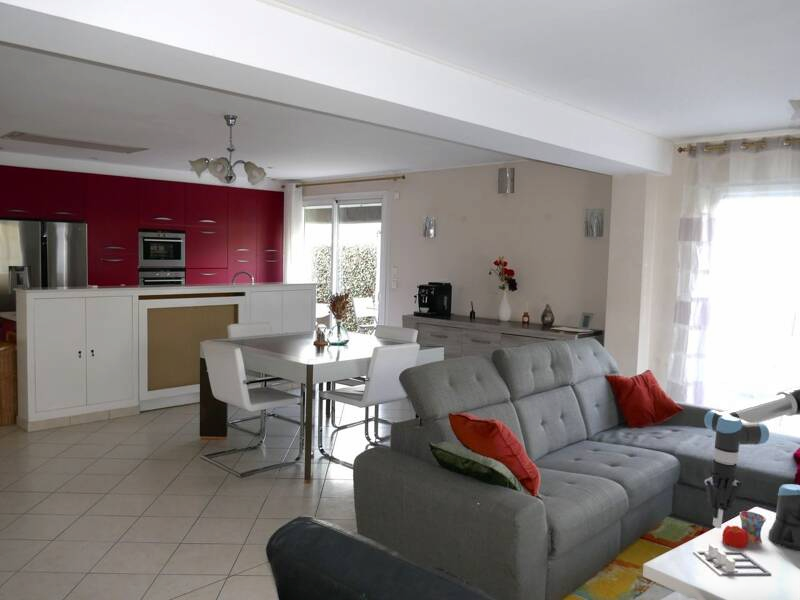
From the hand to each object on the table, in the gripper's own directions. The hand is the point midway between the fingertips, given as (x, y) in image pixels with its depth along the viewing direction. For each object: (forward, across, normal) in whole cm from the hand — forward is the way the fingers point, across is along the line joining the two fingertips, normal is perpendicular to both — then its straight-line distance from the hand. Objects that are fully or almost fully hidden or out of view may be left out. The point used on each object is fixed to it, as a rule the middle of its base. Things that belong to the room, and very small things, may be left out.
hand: (716, 526), depth 224 cm
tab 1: (+16, -6, -9) cm, 19 cm away
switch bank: (+17, -10, -4) cm, 20 cm away
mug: (+17, -33, -26) cm, 45 cm away
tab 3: (+16, -6, +1) cm, 17 cm away
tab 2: (+16, -6, -4) cm, 17 cm away
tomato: (+17, -22, -20) cm, 34 cm away
